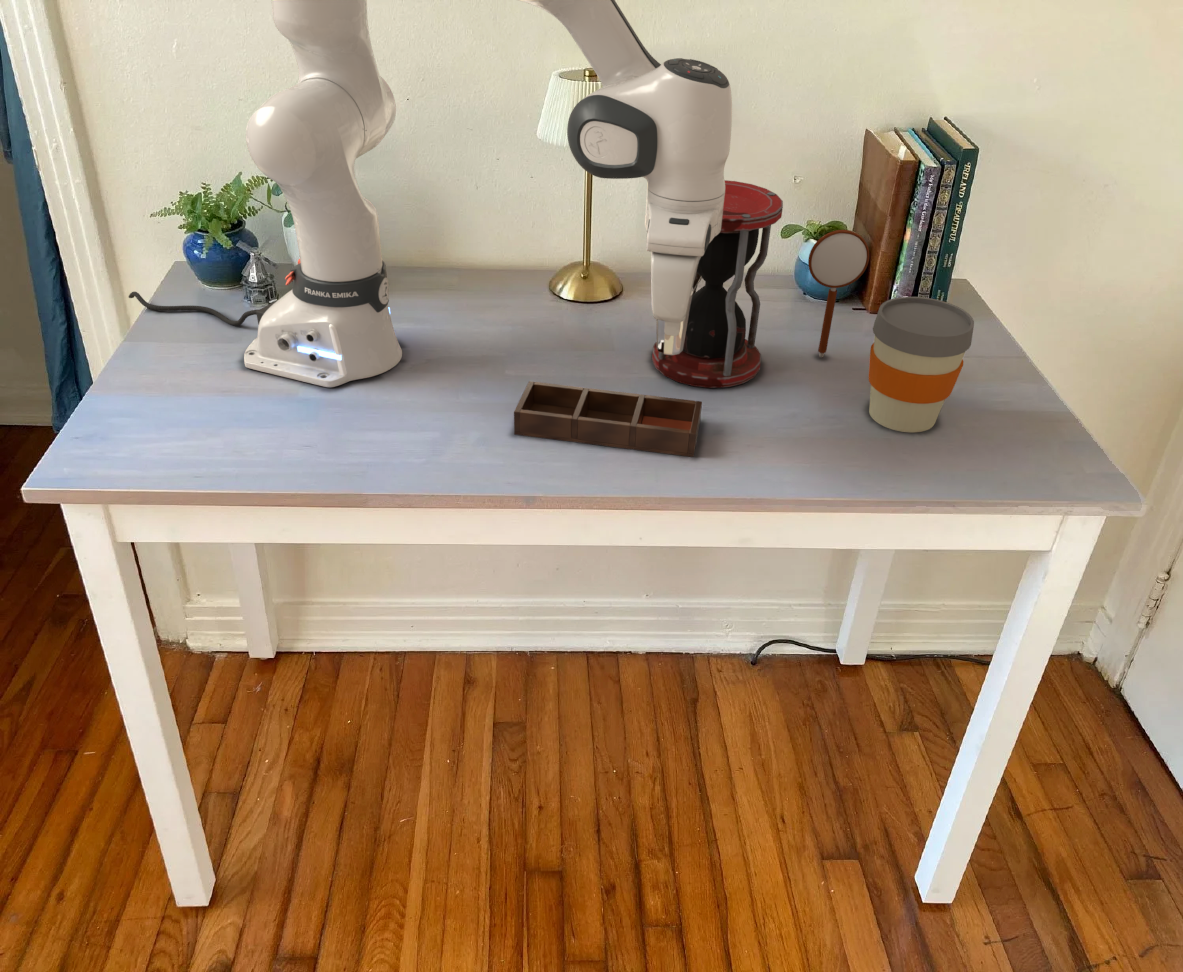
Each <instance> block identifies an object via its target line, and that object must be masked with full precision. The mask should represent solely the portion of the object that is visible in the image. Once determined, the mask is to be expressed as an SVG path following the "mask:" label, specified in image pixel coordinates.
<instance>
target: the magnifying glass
mask: <svg viewBox="0 0 1183 972" xmlns="http://www.w3.org/2000/svg"><path fill="white" fill-rule="evenodd" d="M807 260H808V261H807V262H808V263H807V264H808V265H807V266H808V270H809V273H810V275H811V277H812V278H813V279H814V280H815V282H817V283H818V284H819V285H821V286H823V287H826V288H829V289H828V294H827V297H826V298H827V299H826V304H825V310H824V316H823V321H822V327H821V332H820V338H819V343H818V351H817V352H818V353H819V354H818V356H819V358H823V357H825V353H827V350H828V344H829V338H830V332H831V327H832V322H833V316H834V311H835V305H836V300H837V294H838V290H837V289H839V288H844V287H847V286H850V285H851V284H853V283H855V282H857V280H858V279H859V278H861V276H862V275H863V274H864V273H865V271H866V269H867V267H868V266H869V261H870V249H869V246H868V243H867V242H866V240H865V239H864V237H862V235H860V234H859V233H857V232H856V231H853V230H849V229H836V230H832V231H830V232H827V233H825V234H824V235H823V236H821V237H819V239H818V240H817V241H816V242H815V243H814V245H813V246H812V248H811V249H810V251H809V255H808V259H807Z"/></svg>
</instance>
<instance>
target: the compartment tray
mask: <svg viewBox="0 0 1183 972" xmlns="http://www.w3.org/2000/svg"><path fill="white" fill-rule="evenodd" d="M702 407H703V401H700V400H692V399H683V398H676V397H675V398H674V397H666V396H659V395H658V396H657V395H651V394H650V395H649V394H641V393H635V392H634V393H633V392H624V391H616V390H608V389H600V388H591V387H582V386H573V385H567V384H558V383H549V382H541V381H532V380H529V381H528V383H527V384H526V386H525V389H524V391H523V393H522V395H521V397H520V398H519V401H518V402H517V405H516V407H515V408H514V410H513V434H514V435H515V436H523V437H533V438H541V439H547V440H554V441H555V440H557V441H563V442H570V443H579V444H587V445H593V446H604V447H610V448H618V449H627V450H635V451H641V452H650V453H658V454H666V455H674V456H683V457H688V458H689V457H691V458H694V456H695V452H696V448H697V447H696V446H697V440H698V435H699V431H700V425H701V417H702V409H703V408H702Z"/></svg>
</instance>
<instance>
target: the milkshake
mask: <svg viewBox="0 0 1183 972" xmlns="http://www.w3.org/2000/svg"><path fill="white" fill-rule="evenodd" d="M701 277H702V276H701ZM700 279H701V278H700ZM700 279H699V281H700ZM701 280H702V279H701ZM699 281H698V283H697V284H698V285H699V284H700V282H701V281H700V282H699ZM696 286H697V285H696ZM696 286H695V288H696ZM697 287H698V286H697ZM695 288H694V289H695ZM693 291H694V290H693V287H692V291H691V295H690V300H689V304H688V308H687V312H686V316H685V319H684V320H683V321H682V322H681V325H680V332H679V334H678V335H677V336H671V335H666V334H665V332H664V328H665V321H662V320H657V319H655V320H656V321H655V322H656V342H657V350H658V352H660V353H662V354H665V355H676V354H680V353H681V352H682V351H683V347H684V341H685V335H686V329H687V323H688V317H689V311H690V306H691V301H692V296H693Z"/></svg>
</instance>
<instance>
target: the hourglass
mask: <svg viewBox="0 0 1183 972" xmlns="http://www.w3.org/2000/svg"><path fill="white" fill-rule="evenodd" d="M724 181H725V197H724V207H723V216H722V225H721V231H720V233H719V234H718V235H717V236H715V237H714V238H713V240H712V241H711V242H710V243H709V245H708V246H707V249H706V251H705V253H704V255H703V256H701V258H700V260H699V264H698V267H697V271H696V275H695V279H694V283H693V290H694V291H693V296H692V301H691V306H690V311H689V317H688V323H687V329H686V335H685V341H684V347H683V351H682V352H681V353H680V354H676V355H665V354H662V353H660V352H658V350H657V341H656V342H655V343H654V344H653V347H652V354H651V361H652V363H653V365H654V367H655V369H656V370H657V371H659V372H660V373H661V374H662V375H663V376H664V377H666V378H668V379H671V380H673V381H675V382H677V383H681V384H684V385H686V386H687V385H688V386H691V387H696V388H697V387H698V388H707V389H717V388H719V389H720V388H730V387H735V386H739V385H743V384H745V383H747V382H748V381H750V380H753V379H754V378H755V377H756V376H757V374H758V373H759V372H760V369H761V363H762V354H761V352H760V350H759V348H758V347H757V346H756V345H755V344H756V339H757V338H756V337H757V331H758V330H757V329H758V324H759V317H760V310H761V300H760V296H759V294H758V293H757V291H756V290H755V283H754V282H755V278H756V276H757V272H758V271H759V269H761V267H762V266H763V264H764V263H765V261H766V258H767V256H768V251H769V244H770V238H771V237H770V235H771V229H772V226H773V225H774V224H777V222H778V221H780V219H782V216H783V209H784V201H783V199H782V198H781V197H780V196H779V195H778V194H777V193H775V192H773V191H771V190H769V189H768V188H766V187H762V186H759V185H757V184H753V183H747V182H742V181H737V180H727V179H726V180H725V179H724ZM760 229H762V231H761V237H760V244H759V245H760V246H759V253H758V255H757V256H756V258H755V260H754V262H753V263H751V265H750V266H749V267H748V269H747V272H746V274H745V267H746V265H747V264H749V263H750V261H751V260H752V258H753V257H754V256H755V254H756V250H757V246H758V243H759V235H760ZM744 275H745V277H744ZM701 276H702V277H701ZM733 277H734V278H733ZM700 278H701V279H700ZM731 278H733V281H732V283H731V285H730V286H729V287H728V289H726V288H725V287H724V284H725V283H726V282H727V281H729V280H730V279H731ZM699 279H700V281H699ZM702 280H703V281H704V282H705V283H704V285H703V286H702V287H701V288H700V289H698V290H697V288H698V285H699V283H700V282H701V281H702ZM743 280H744V286H745V288H744V289H745V292H746V293H747V294H748V296H749V297H750V300H751V305H752V306H751V313H750V321H749V329H748V335H747V338H746V334H747V320H746V316H745V314H744V311H743V310H742V308H741V306H740V305H739V304H738V302H737V301H736V300H737V299H736V298H737V294H738V291H739V290H740V289H741V287H742V283H743ZM698 281H699V283H698ZM697 283H698V284H697ZM696 285H697V286H696ZM695 286H696V288H695ZM694 288H695V289H694Z"/></svg>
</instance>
